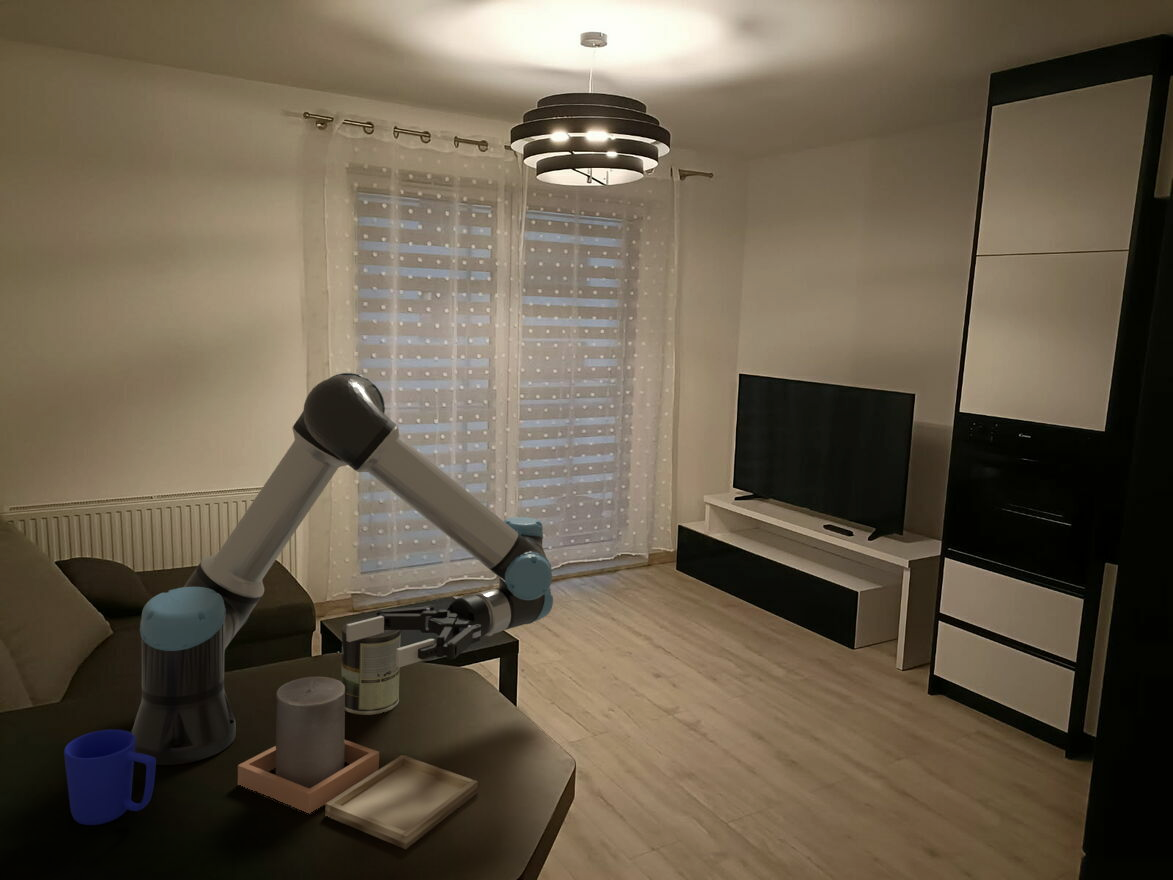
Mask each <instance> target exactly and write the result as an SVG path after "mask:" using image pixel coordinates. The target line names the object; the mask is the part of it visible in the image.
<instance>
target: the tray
mask: <svg viewBox="0 0 1173 880" xmlns="http://www.w3.org/2000/svg"><path fill="white" fill-rule="evenodd" d="M478 783H479V782H478V781H477V780H475V779H473V778H469V777H467V776H463V775H460V774H458V773H455V772H452V771H451V770H450V771H449V770H446V769H443V768H441V767H438V766H435V765H432V764H429V763H427V762H423V761H421V760H418V759H417V758H416V759H415V758H412V757H409V756H408V755H405V754H402V755H400V756H398V757H396V758H395V759H393V760H391V761H390V762H388V763H387V764H386V765H384V766H382V767H380V768H379V770H378V771H376V772H374V773H373V774H371V775H370V776H368V777H367V778H365V779H363V780H362V781H360V782H359V783H357V784H356V785H354V786H352V787H351V788H349V789H348V790H346V791H344V792H343V793H341V794H340V795H338V796H337V797H335V798H333V799H332V800H330V801H329V802H327V803H326V804H325V805H324V807H325V808H324V809H325V810H324V813H325V814H324V815H325V817H327V816H328V817H327V818H329V817H330V818H329V819H332V820H335V821H337V822H339V823H341V824H344V825H346V826H349V827H351V828H354V829H355V830H358V831H360V832H363V833H365V834H367V835H370V836H373V837H375V838H377V839H380V840H382V841H385V842H387V843H389V844H392V845H394V846H396V847H398V848H402V849H404V850H407V849H409V848H410V847H411V846H412V845H414V844H415V843H416V842H417V841H418V840H419V839H421V838H422V837H424V836H425V835H426V834H427V833H429V832H430V831H431V830H432V829H434V828H435V827H437V825H439V824H440V823H441V822H443V821H444V820H445V819H446V818H448V816H450V815H452V814H453V813H454V812H456V810H458V809H459V808H460V807H462V805H464V804H465V803H466V802H468V801H469V800H470V799H471V798H473V797H474V796H475V795H476V794H478V787H479V786H478ZM457 808H458V809H457Z"/></svg>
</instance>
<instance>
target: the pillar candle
mask: <svg viewBox="0 0 1173 880" xmlns="http://www.w3.org/2000/svg"><path fill="white" fill-rule="evenodd" d="M275 695H276V697H275V698H276V699H275V700H276V704H275V705H276V707H275V708H276V709H275V710H276V711H275V718H276V719H275V724H276V725H275V746H276V769H275V775H277V776H279V777H281V778H284V779H286V780H289V781H291V782H294V783H296V784H299V785H301V786H304V787H306V788H309V789H310V788H312V787H313V786H315V785H317V784H318V783H320V782H322V781H323V780H325V779H327V778H328V777H330V776H332V775H333V774H335V773H337V772H338V771H340V770H342V769H343V768H345V762H344V753H345V741H344V739H345V727H346V726H345V725H346V724H345V721H346V720H345V717H346V716H345V715H346V711H345V686H344V684H343V683H342V682H341V680H338V679H336V678H332V677H328V676H307V677H306V676H305V677H301V678H298V679H292V680H290V681H289V682H286V683H284V684H282V685H281V686H280V687H279V688H278V689H277V690H276V694H275Z"/></svg>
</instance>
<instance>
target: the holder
mask: <svg viewBox="0 0 1173 880" xmlns="http://www.w3.org/2000/svg"><path fill="white" fill-rule="evenodd" d="M344 741H345V753H344V763H345V762H347V763H346V764H349V765H347V766H344V768H343V769H342V770H340V771H338V772H337V773H335V774H333V775H332V776H330V777H328V778H327V779H325V780H323V781H322V782H320V783H318V784H317V785H315V786H313V787H312V788H310V789H309V788H306V787H304V786H301V785H299V784H296V783H294V782H291V781H289V780H286V779H284V778H281V777H279V776H277V775H276V774H275V773H274V774H273V773H271V772H272V771H271V770H273V769H274V768H276V745H274V746H273V747H270V748H268V749H267V750H264V751H262V752H261V753H259V754H257V755H255V756H253V757H251V758H249V759H247V760H245V761H244V762H241V763H240V764H238V765H237V786H239V785H241V786H240V787H242V786H243V788H244V787H245V789H247V788H248V789H247V790H249V789H250V790H249V791H251V790H253V791H252V792H254V791H257V792H258V793H261V794H264V795H266V796H270V797H271V798H274V799H276V800H278V801H280V802H283V803H285V804H288V805H291V806H292V807H295V808H297V809H299V810H302V811H304V812H306V813H309V814H310V813H311V812H313V811H314V810H316V809H317V810H319V809H320V807H321V806H322V807H324V806H325V804H326V803H327V802H329V801H330V800H332V799H333V798H335V797H337V796H338V795H340V794H341V793H343V792H344V791H346V790H348V789H349V788H351V787H352V786H354V785H356V784H357V783H359V782H360V781H362V780H363V779H365V778H367V777H368V776H370V775H371V774H373V773H374V772H376V771H378V770H379V769H380V768H379V767H380V751H378V750H375V749H373V748H372V749H371V748H369V747H366V746H364V745H361V744H359V743H355V742H353V741H350V740H347V739H345V738H344ZM274 770H275V769H274ZM274 770H273V771H274ZM269 771H271V772H269ZM258 793H257V794H258ZM261 794H260V795H261ZM266 796H265V797H266ZM280 802H279V803H280ZM285 804H284V805H285ZM323 805H324V806H323ZM292 807H291V808H292ZM322 807H321V808H322ZM318 808H319V809H318ZM299 810H298V811H299ZM317 810H316V811H317ZM314 812H315V811H314ZM314 812H313V813H314ZM306 813H305V814H306ZM311 814H312V813H311ZM311 814H310V815H311Z"/></svg>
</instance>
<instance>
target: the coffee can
mask: <svg viewBox="0 0 1173 880" xmlns="http://www.w3.org/2000/svg"><path fill="white" fill-rule="evenodd" d="M371 618H375V616H372V617H371V616H370V617H359V618H355V619H353V620H350V621H347V622H346V623H344V624H343V625H342V626H341V671H340V673H341V679H340V681H341V682H342V683H343V684H344V686H345V712H348V713H350V714H353V715H360V716H373V715H379V714H383V712H384V713H386V712H389V711H391V710H393V709H394V708H395V707H397V706H398V704H399V702H400V697H399V694H400V693H399V692H400V688H399V687H400V668H401V667H397V666H396V649H397V648H401V635H402V634H401V633H402V630H384V633H383V634H377V635H373V636H370V637H366V638H362V639H359V640H355V641H351V642H348V641H346V637H347V624H351V623H355V622H359V621H363V620H367V619H371Z"/></svg>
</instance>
